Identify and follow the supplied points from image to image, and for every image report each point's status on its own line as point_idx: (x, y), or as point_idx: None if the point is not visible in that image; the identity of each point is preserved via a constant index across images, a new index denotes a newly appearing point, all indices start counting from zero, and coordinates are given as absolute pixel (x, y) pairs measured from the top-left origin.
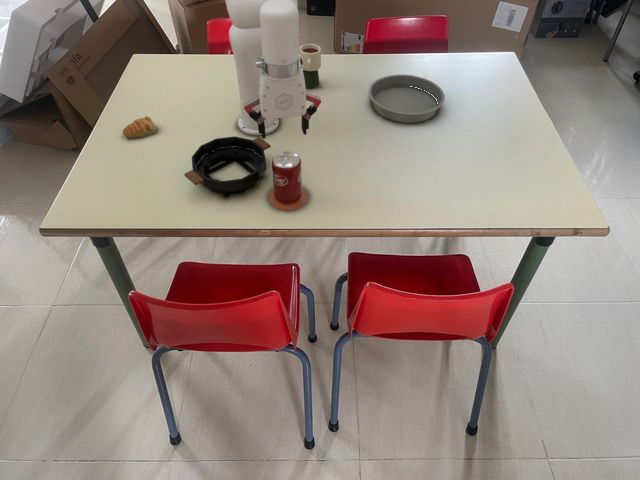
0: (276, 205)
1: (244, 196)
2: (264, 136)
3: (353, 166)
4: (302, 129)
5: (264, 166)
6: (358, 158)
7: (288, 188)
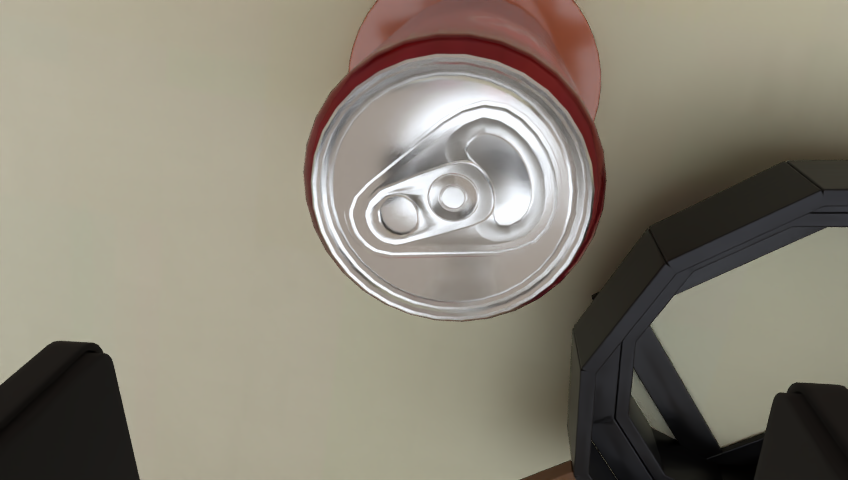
0: (566, 8)
1: (752, 151)
2: (825, 406)
3: (62, 281)
4: (112, 449)
5: (596, 324)
6: (36, 335)
7: (472, 9)
